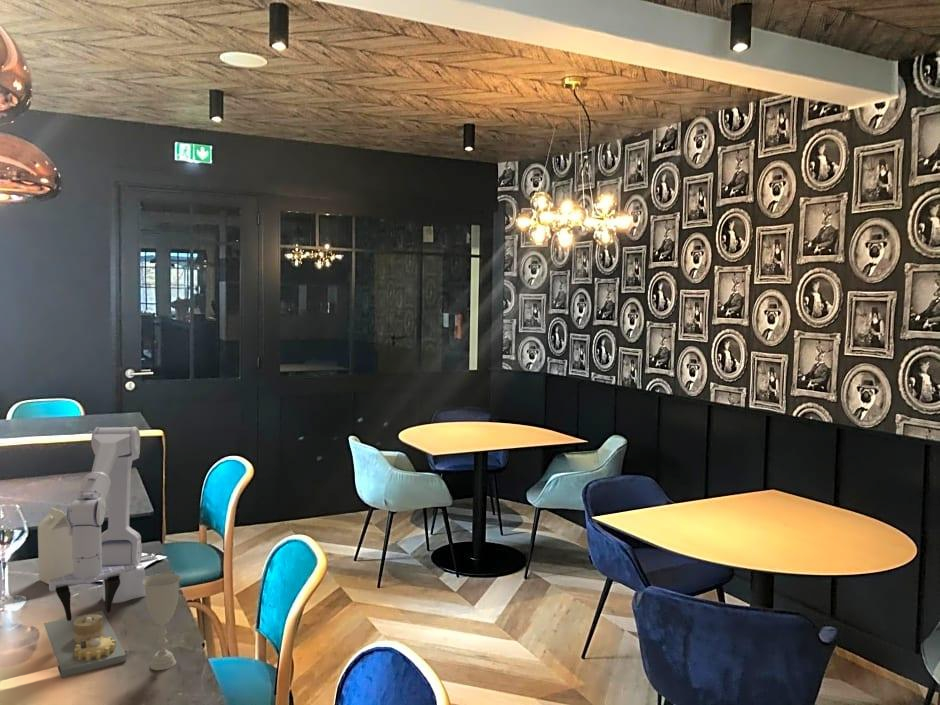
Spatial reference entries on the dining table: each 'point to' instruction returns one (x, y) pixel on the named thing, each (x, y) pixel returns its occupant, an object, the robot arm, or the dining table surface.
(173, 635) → the dining table surface
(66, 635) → the gear board
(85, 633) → the wooden ring spacer
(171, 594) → the chalice
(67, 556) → the milk carton
